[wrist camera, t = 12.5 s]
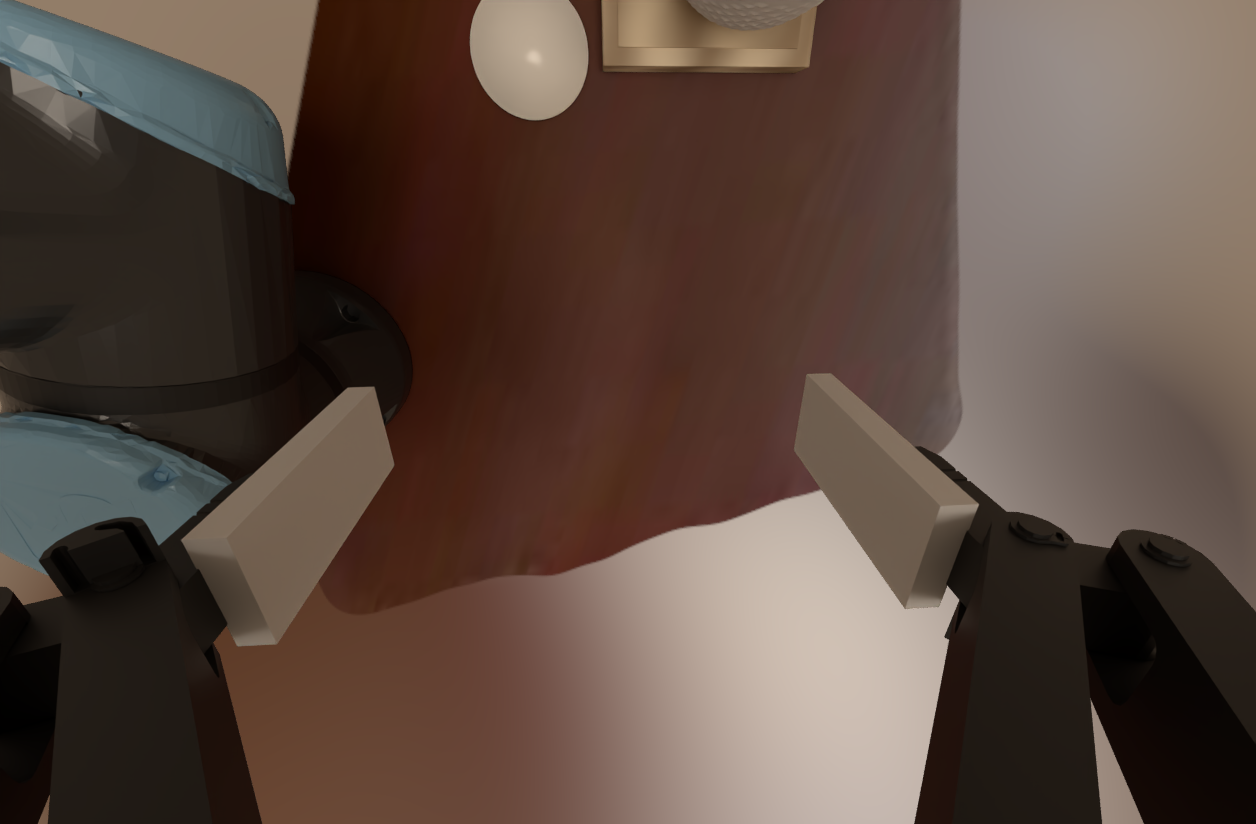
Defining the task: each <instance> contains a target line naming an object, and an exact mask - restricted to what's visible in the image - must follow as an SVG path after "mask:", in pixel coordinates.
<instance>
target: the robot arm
mask: <svg viewBox="0 0 1256 824" xmlns="http://www.w3.org/2000/svg"><path fill="white" fill-rule="evenodd" d="M291 204H293V205H295V199H294V196H293V194H292V193H291V191H290V190H289V185H288V177H287V168H286V159H285V151H284V142H283V134H282V130H281V127H280V124H279V122H278V120H277V118H276V116H275V115H274V113H273V112H272V110H271V109H270V108H269V106H268V105H267V104H266V103H265V102H264V101H263V100H262V99H261V98H259V97H258V96H257V95H256V94H255V93H253V92H252V91H250V90H249V89H247V88H245V87H243V86H242V85H240V84H237V83H235V82H233V81H231V80H228V79H226V78H223V77H221V76H219V75H216V74H214V73H211V72H208V71H206V70H203V69H201V68H198V67H196V66H193V65H191V64H188V63H186V62H183V61H180V60H178V59H175V58H173V57H170V56H167V55H165V54H162V53H159V52H156V51H154V50H151V49H149V48H146V47H143V46H141V45H138V44H135V43H132V42H130V41H127V40H124V39H122V38H119V37H116V36H113V35H110V34H108V33H105V32H102V31H99V30H97V29H94V28H91V27H89V26H86V25H83V24H80V23H77V22H74V21H71V20H69V19H66V18H64V17H61V16H58V15H55V14H52V13H50V12H47V11H44V10H41V9H38V8H35V7H32V6H29V5H26V4H23V3H20V2H18V1H15V0H0V401H1V404H2V410H1V412H0V552H1V553H3V554H5V555H6V556H8V557H10V558H12V559H13V560H15V561H17V562H20V563H22V564H24V565H26V566H29V567H31V568H33V569H35V570H37V571H39V572H41V573H43V574H46V575H48V576H50V578H51V579H52V581H53V582H54V583H55V585H56V586H57V588H58V589H59V590H60V592H61V593H62V595H63V596H60V597H56V598H53V599H48V600H44V601H40V602H35V603H31V604H27V605H22V603H21V602H20V600H19V599H18V598H17V597H16V595H15V594H14V593H13V592H12V591H11V590H10V589H9V588H7V587H0V824H38V822H39V819H40V817H41V814H42V812H43V809H44V807H45V805H46V802H47V800H48V797H49V795H50V802H49V815H48V824H262V821H261V817H260V813H259V809H258V805H257V801H256V797H255V793H254V789H253V786H252V781H251V777H250V773H249V769H248V765H247V761H246V757H245V753H244V750H243V745H242V742H241V737H240V733H239V730H238V725H237V722H236V717H235V714H234V710H233V706H232V702H231V698H230V694H229V690H228V686H227V682H226V678H225V674H224V670H223V666H222V662H221V658H220V654H219V652H218V651H217V649H216V647H215V645H214V643H213V642H214V641H215V640H216V638H217V637H218V636H219V634H220V633H221V632H222V631H223V629H224V628H225V627H226V626H227V627H228V629H229V631H230V633H231V635H232V637H233V639H234V641H235V643H236V644H237V646H252V645H268V644H269V645H270V644H277V643H278V642H279V640H280V639H281V637H282V636H283V634H284V633H285V631H286V630H287V628H288V626H289V625H290V623H291V622H292V620H293V619H294V617H295V616H296V614H297V613H298V611H299V610H300V608H301V607H302V605H303V603H304V602H305V601H306V599H307V598H308V596H309V595H310V593H311V591H312V590H313V588H314V587H315V585H316V584H317V582H318V581H319V579H320V578H321V576H322V575H323V573H324V572H325V570H326V569H327V567H328V566H329V564H330V563H331V561H332V560H333V558H334V557H335V555H336V553H337V552H338V550H339V549H340V547H341V546H342V544H343V543H344V541H345V540H346V538H347V537H348V535H349V534H350V532H351V531H352V529H353V528H354V526H355V525H356V523H357V522H358V520H359V518H360V517H361V515H362V514H363V512H364V511H365V509H366V508H367V506H368V505H369V503H370V502H371V500H372V499H373V497H374V496H375V494H376V493H377V491H378V490H379V488H380V487H381V485H382V484H383V482H384V480H385V479H386V477H387V476H388V474H389V473H390V471H391V470H392V468H393V467H394V461H393V457H392V454H391V450H390V446H389V442H388V438H387V434H386V430H385V426H386V425H387V424H388V423H389V422H390V421H391V420H392V419H393V417H394V416H395V415H396V414H397V412H398V411H399V410H400V409H401V407H402V406H403V404H404V402H405V401H406V399H407V397H408V394H409V391H410V387H411V382H412V362H411V356H410V352H409V349H408V346H407V343H406V341H405V339H404V337H403V335H402V333H401V331H400V329H399V328H398V326H397V325H396V323H395V322H394V320H393V319H392V318H391V316H390V315H389V314H388V313H387V312H386V311H385V310H384V309H383V308H382V307H381V306H380V305H379V304H378V303H377V302H376V301H375V300H374V299H372V298H371V297H370V296H369V295H367V294H366V293H364V292H363V291H361V290H360V289H358V288H357V287H355V286H353V285H351V284H349V283H347V282H345V281H343V280H340V279H338V278H335V277H332V276H329V275H326V274H322V273H317V272H311V271H295V269H294V249H293V228H292V208H291ZM794 451H795V453H796V454H797V455H798V457H799V458H800V460H801V461H802V463H803V464H804V465H805V467H806V468H807V470H808V471H809V472H810V474H811V475H812V477H813V478H814V480H815V481H816V482H817V484H818V485H819V487H820V488H821V490H822V491H823V492H824V494H825V495H826V497H827V498H828V499H829V501H830V502H831V504H832V505H833V507H834V508H835V509H836V511H837V512H838V514H839V515H840V517H841V518H842V519H843V521H844V522H845V524H846V525H847V526H848V528H849V530H850V531H851V532H852V534H853V535H854V537H855V538H856V540H857V541H858V542H859V544H860V545H861V547H862V548H863V550H864V551H865V552H866V554H867V555H868V557H869V558H870V560H871V561H872V562H873V564H874V565H875V567H876V568H877V570H878V571H879V572H880V574H881V575H882V577H883V578H884V579H885V581H886V582H887V584H888V585H889V587H890V588H891V590H892V591H893V592H894V594H895V595H896V597H897V598H898V599H899V601H900V602H901V604H902V605H903V607H904V608H905V609H910V608H928V607H939V606H940V603H941V600H942V598H943V595H944V593H945V590H946V588H947V585H948V587H949V588H950V589H951V590H952V591H953V593H954V594H955V595H956V596H957V597H958V599H959V602H958V605H957V607H956V610H955V612H954V615H953V617H952V620H951V622H950V624H949V627H948V629H947V632H946V634H945V638H947V639H949V644H948V649H947V654H946V660H945V665H944V670H943V676H942V680H941V686H940V692H939V696H938V702H937V707H936V712H935V718H934V723H933V728H932V733H931V739H930V744H929V749H928V754H927V760H926V765H925V770H924V775H923V781H922V786H921V791H920V797H919V802H918V807H917V812H916V817H915V823H914V824H1102V819H1101V807H1100V797H1099V787H1098V776H1097V765H1096V755H1095V743H1094V733H1093V722H1092V712H1091V701H1092V703H1093V705H1094V708H1095V710H1096V712H1097V715H1098V717H1099V719H1100V722H1101V724H1102V726H1103V729H1104V731H1105V733H1106V736H1107V738H1108V740H1109V743H1110V745H1111V748H1112V750H1113V752H1114V755H1115V757H1116V759H1117V762H1118V764H1119V766H1120V769H1121V771H1122V773H1123V776H1124V778H1125V780H1126V783H1127V785H1128V787H1129V789H1130V792H1131V794H1132V797H1133V799H1134V801H1135V804H1136V806H1137V808H1138V811H1139V813H1140V815H1141V818H1142V820H1143V823H1144V824H1256V612H1255V610H1254V609H1253V608H1252V607H1251V606H1250V605H1249V604H1248V602H1247V601H1246V600H1245V599H1244V598H1243V597H1242V596H1241V595H1240V593H1239V592H1238V591H1237V590H1236V589H1235V588H1234V586H1233V585H1232V584H1231V583H1230V582H1229V581H1228V580H1227V579H1226V577H1225V576H1224V575H1223V574H1222V573H1221V572H1220V570H1219V569H1218V568H1217V567H1216V566H1215V565H1214V564H1213V563H1212V562H1211V561H1210V560H1209V559H1208V558H1206V557H1205V556H1204V555H1203V554H1202V553H1200V552H1199V551H1196V550H1195V549H1193V548H1192V547H1190V546H1188V545H1187V544H1186V543H1184V542H1182V541H1180V540H1177V539H1173V538H1172V537H1170V536H1166V535H1163V534H1157V533H1153V532H1149V531H1143V530H1126V531H1122V532H1121V533H1120V534H1119V535H1118V536H1117V538H1116V540H1115V542H1114V544H1113V545H1112V547H1111V548H1104V547H1098V546H1092V545H1086V544H1079V543H1074V541H1073V539H1072V538H1071V537H1070V536H1069V535H1068V534H1067V533H1066V532H1065V531H1063V530H1062V529H1061V528H1059V527H1057V526H1055V525H1054V524H1052V523H1050V522H1048V521H1046V520H1043V519H1041V518H1038V517H1035V516H1033V515H1028V514H1024V513H1019V512H1006V511H1005V510H1004V509H1002V508H1001V507H1000V506H999V505H998V504H997V503H995V502H994V501H993V500H992V499H991V498H990V497H988V496H987V495H986V494H985V493H984V492H982V491H981V490H980V489H979V488H978V487H976V486H975V485H974V484H973V483H971V481H967V478H966V477H965V476H963V475H962V474H961V473H960V472H959V471H956V470H955V468H954V467H953V466H952V465H950V464H949V463H948V462H947V461H945V460H944V459H943V458H942V457H941V456H939V455H937V454H935V453H933V452H931V451H929V450H927V449H925V448H923V447H921V446H920V447H914V446H912V445H911V444H910V443H909V442H908V441H907V440H906V439H904V438H903V437H902V436H901V435H900V434H899V433H898V432H897V431H895V430H894V429H893V428H892V427H891V426H890V425H889V424H887V423H886V422H885V421H884V420H883V419H882V418H881V417H880V416H878V415H877V414H876V413H875V412H874V411H873V410H872V409H870V408H869V407H868V406H867V405H866V404H865V403H864V402H863V401H861V400H860V399H859V398H858V397H857V396H856V395H855V394H854V393H852V392H851V391H850V390H849V389H848V388H847V387H846V386H844V385H843V384H842V383H841V382H840V381H839V380H838V379H837V378H835V377H834V376H833V375H832V374H831V373H830V374H807V376H806V382H805V388H804V394H803V400H802V405H801V411H800V417H799V423H798V429H797V435H796V441H795V446H794ZM1090 698H1091V700H1090Z"/></svg>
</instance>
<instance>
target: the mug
mask: <svg viewBox="0 0 1256 824" xmlns="http://www.w3.org/2000/svg"><path fill="white" fill-rule="evenodd" d="M687 1H688V2H689V3H690V4H691V6H692V7H693V8H695V9H696V11H697V12H698V13H700V14H702V15H703V16H704V17H705V18H707V19H708V20H709V21H710V22H715V23H716V24H717V25H721V26H722V27H726V28H730V29H732V30H733V29H738V30H740V31H743V30H745V31H747V30H752V31H754V30H760V29H766V28H772V27H774V26H778V25H781V24H784V23H785V22H787V21H789V20H792V19H795V18H797V17H798V16H799V15H801V14H803V13H806V12H807V11H808V10H810V9H811V8H813V7H815V6H817V5H819V4H820V3H822V2H823V1H824V0H687Z"/></svg>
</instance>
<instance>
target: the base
mask: <svg viewBox="0 0 1256 824" xmlns="http://www.w3.org/2000/svg"><path fill="white" fill-rule="evenodd" d="M601 9H602V55H603V72H720V73H797V72H799V71H801V70H803V69H806V68H808V67H809V62H810V54H811V47H812V39H813V32H814V25H815V17H816V10H817V6H815V7H813V8H811V9H810V10H808V11H807V12H806V13H803V14H801V15H799V16H798V17H797V18H795V19H792V20H789V21H787V22H785V23H784V24H781V25H778V26H774V27H772V28H766V29H760V30H754V31H752V30H747V31H745V30H743V31H740V30H738V29H733V30H732V29H730V28H726V27H722V26H721V25H717V24H716V23H715V22H710V21H709V20H708V19H707V18H705V17H704V16H703V15H702V14H700V13H698V12H697V11H696V9H695V8H693V7H692V6H691V4H690V3H689V2H688V1H687V0H601Z"/></svg>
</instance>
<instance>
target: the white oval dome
mask: <svg viewBox="0 0 1256 824" xmlns="http://www.w3.org/2000/svg"><path fill="white" fill-rule="evenodd" d="M470 50H471V57H472V62H473V66H474V69H475V72H476V74H477V77H478V79H479V81H480V83H481V85H482V86H483V88H484V90H485V91H486V92H487V94H488V95H489V96H490V97H491V99H492V100H493V101H494V102H495V103H496V104H497V105H499V106H500V107H501V108H502V109H504V110H505V111H507V112H508V113H510V114H512V115H514V116H517V117H519V118H522V119H527V120H545V119H549V118H552V117H555V116H557V115H559V114H560V113H562V112H564V111H565V110H566V109H567V108H568V107H569V106H570V105H571V104H572V103H573V102H574V101H575V99H576V98H577V96H578V95H579V93H580V91H581V89H582V87H583V84H584V82H585V78H586V74H587V69H588V44H587V38H586V34H585V30H584V27H583V24H582V22H581V20H580V17H579V15H578V13H577V12H576V10H575V8H574V7H573V5H572V4H571V3H570V1H569V0H481V2H480V4H479V6H478V7H477V10H476V12H475V15H474V17H473V21H472V25H471V32H470Z"/></svg>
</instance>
